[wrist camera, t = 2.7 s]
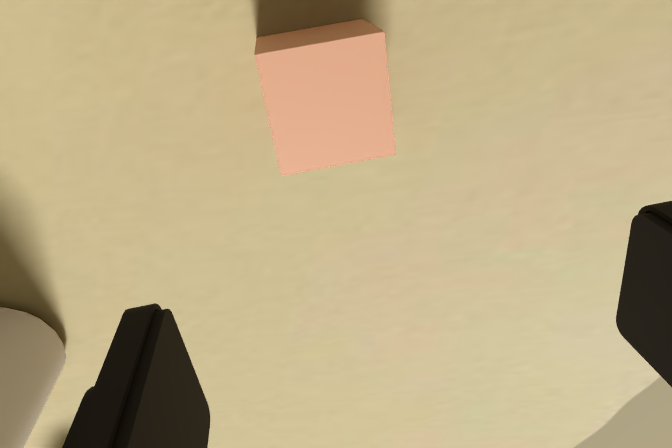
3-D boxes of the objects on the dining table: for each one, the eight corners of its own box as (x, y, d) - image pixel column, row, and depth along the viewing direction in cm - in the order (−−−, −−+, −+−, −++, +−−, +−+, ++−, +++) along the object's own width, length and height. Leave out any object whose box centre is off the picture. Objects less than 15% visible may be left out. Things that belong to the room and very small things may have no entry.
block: (362, 18, 28) (384, 31, 22) (374, 121, 31) (396, 154, 25) (256, 37, 28) (254, 54, 22) (278, 139, 30) (281, 176, 25)
